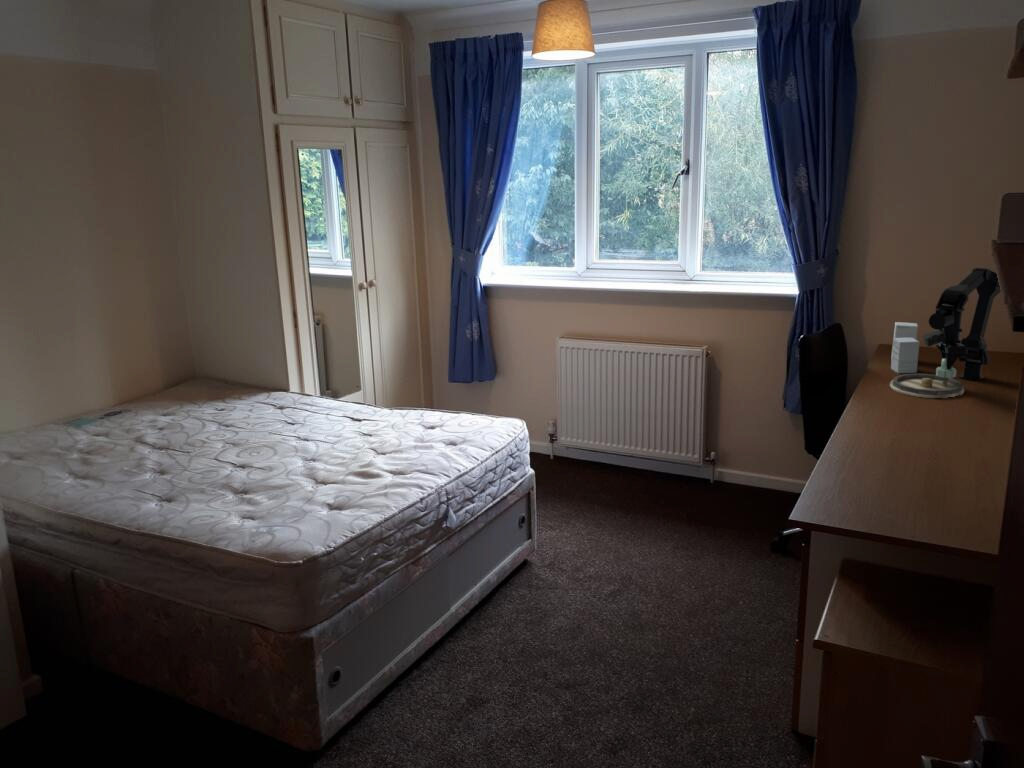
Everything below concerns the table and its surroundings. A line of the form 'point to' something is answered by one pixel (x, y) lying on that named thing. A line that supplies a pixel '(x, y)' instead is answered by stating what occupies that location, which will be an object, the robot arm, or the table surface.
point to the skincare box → (905, 330)
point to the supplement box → (905, 355)
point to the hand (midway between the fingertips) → (946, 367)
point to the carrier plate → (917, 385)
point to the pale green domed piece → (945, 370)
